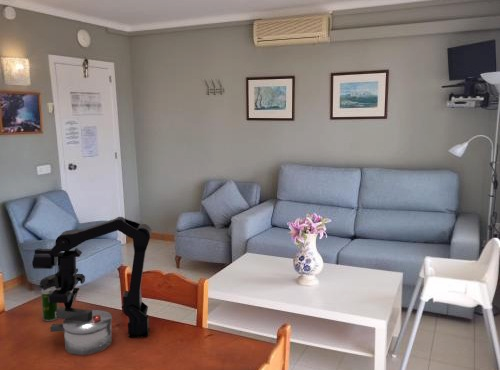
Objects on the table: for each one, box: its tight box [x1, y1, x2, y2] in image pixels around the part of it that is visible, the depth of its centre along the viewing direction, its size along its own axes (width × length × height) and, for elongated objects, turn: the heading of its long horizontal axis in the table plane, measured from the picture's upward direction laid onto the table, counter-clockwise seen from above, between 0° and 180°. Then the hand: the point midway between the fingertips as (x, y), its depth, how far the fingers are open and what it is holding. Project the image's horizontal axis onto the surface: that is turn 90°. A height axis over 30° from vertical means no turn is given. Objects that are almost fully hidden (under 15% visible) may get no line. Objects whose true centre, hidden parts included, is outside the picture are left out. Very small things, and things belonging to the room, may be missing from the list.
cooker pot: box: [49, 323, 113, 356], centre depth 150 cm, size 20×15×7 cm
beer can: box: [40, 286, 59, 322], centre depth 168 cm, size 5×5×12 cm
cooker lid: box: [56, 306, 113, 334], centre depth 149 cm, size 19×16×4 cm
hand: (68, 310), depth 153 cm, fingers closed
